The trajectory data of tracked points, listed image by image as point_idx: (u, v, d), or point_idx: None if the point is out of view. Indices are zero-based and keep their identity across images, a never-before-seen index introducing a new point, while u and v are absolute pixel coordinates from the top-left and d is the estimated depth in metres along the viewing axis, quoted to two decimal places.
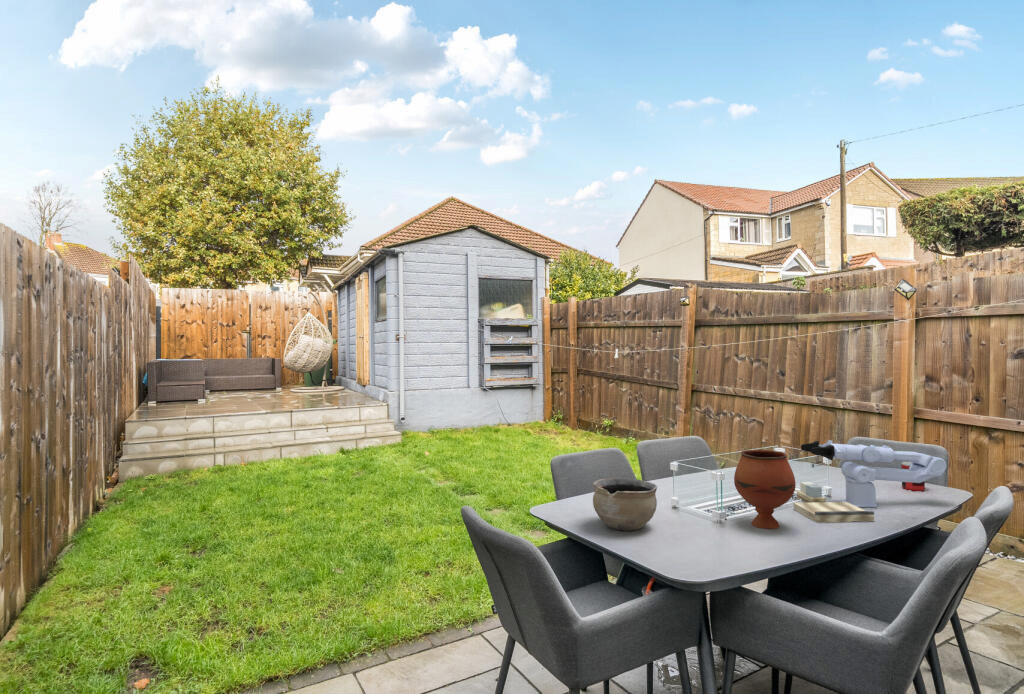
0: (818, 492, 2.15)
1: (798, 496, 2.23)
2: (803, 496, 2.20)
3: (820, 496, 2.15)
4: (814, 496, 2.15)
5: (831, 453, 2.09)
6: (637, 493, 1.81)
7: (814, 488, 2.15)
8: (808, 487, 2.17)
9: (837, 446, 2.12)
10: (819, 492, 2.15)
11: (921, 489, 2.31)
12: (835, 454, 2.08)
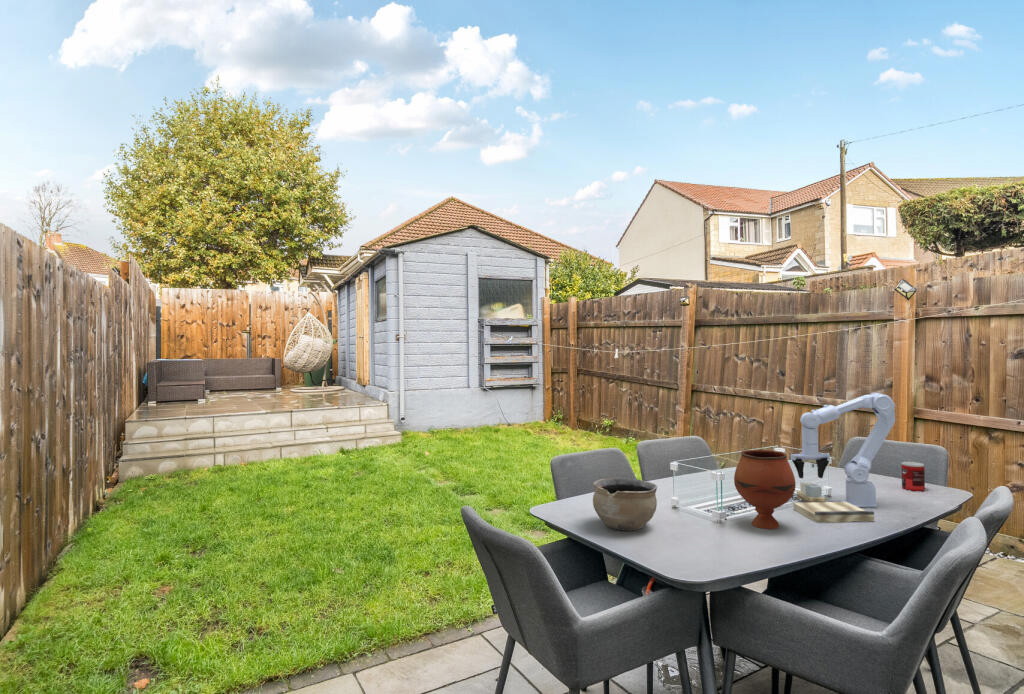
0: (818, 492, 2.15)
1: (798, 495, 2.23)
2: (803, 496, 2.20)
3: (820, 495, 2.15)
4: (814, 496, 2.15)
5: (796, 461, 2.19)
6: (637, 493, 1.81)
7: (814, 488, 2.15)
8: (808, 487, 2.17)
9: None
10: (819, 492, 2.15)
11: (921, 489, 2.31)
12: (793, 459, 2.19)
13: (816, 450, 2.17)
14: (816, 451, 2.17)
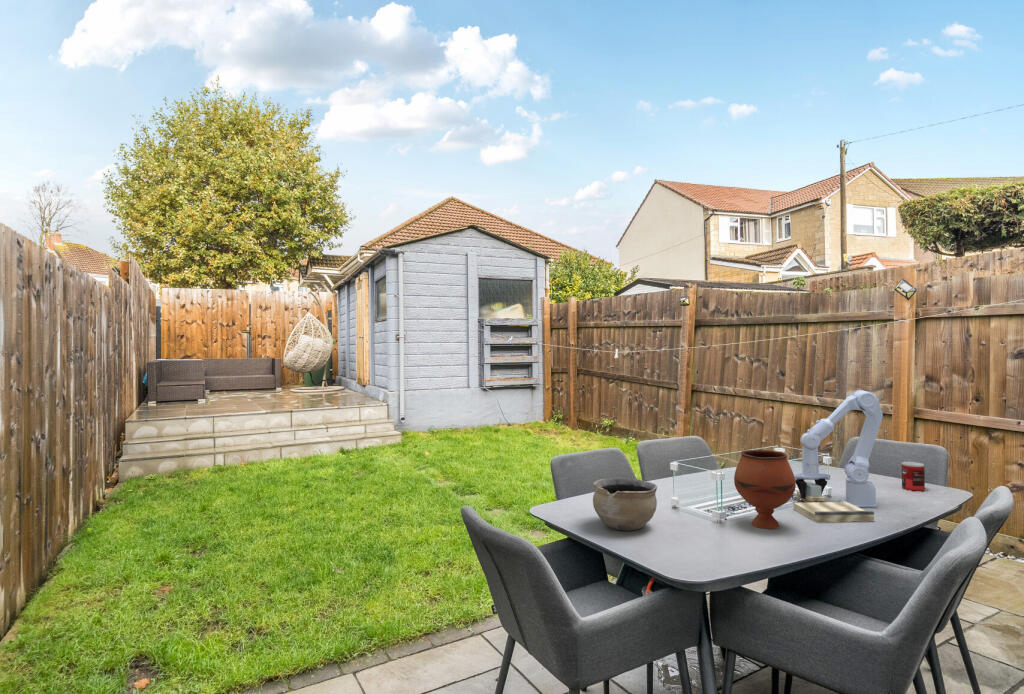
0: (818, 491, 2.15)
1: (798, 495, 2.23)
2: None
3: (820, 495, 2.15)
4: (814, 495, 2.15)
5: None
6: (637, 493, 1.81)
7: (814, 487, 2.15)
8: (808, 486, 2.17)
9: None
10: (818, 491, 2.15)
11: (921, 489, 2.31)
12: None
13: (816, 470, 2.17)
14: (817, 471, 2.17)
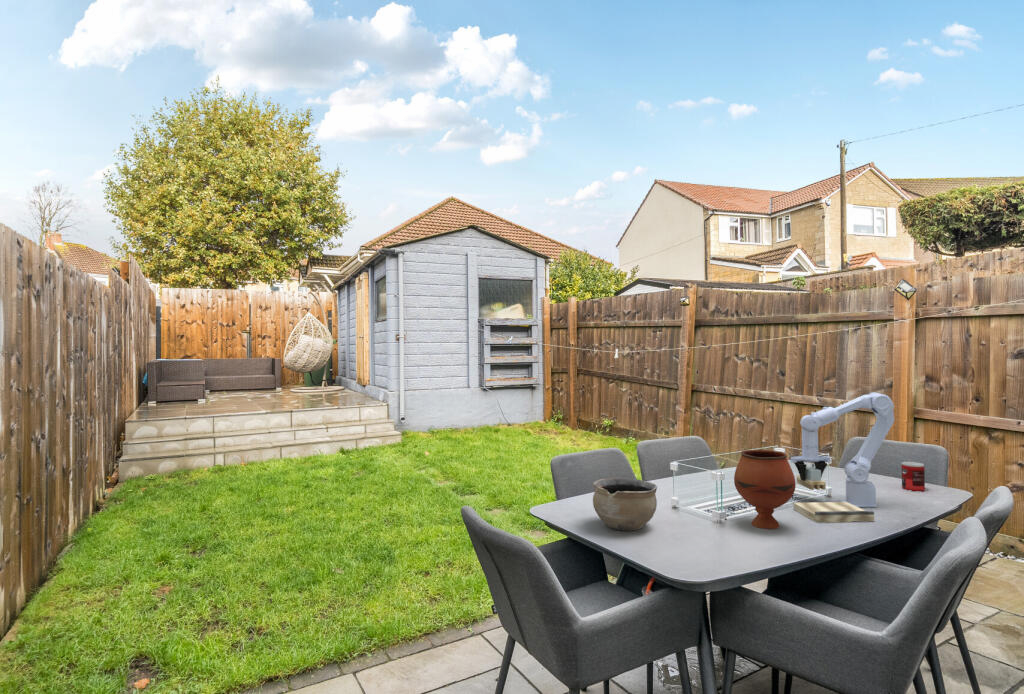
0: (818, 475, 2.15)
1: (798, 480, 2.23)
2: None
3: (819, 479, 2.15)
4: (813, 479, 2.15)
5: None
6: (637, 493, 1.81)
7: (813, 471, 2.15)
8: (807, 470, 2.17)
9: None
10: (818, 475, 2.15)
11: (921, 489, 2.31)
12: None
13: (816, 453, 2.17)
14: (816, 454, 2.17)
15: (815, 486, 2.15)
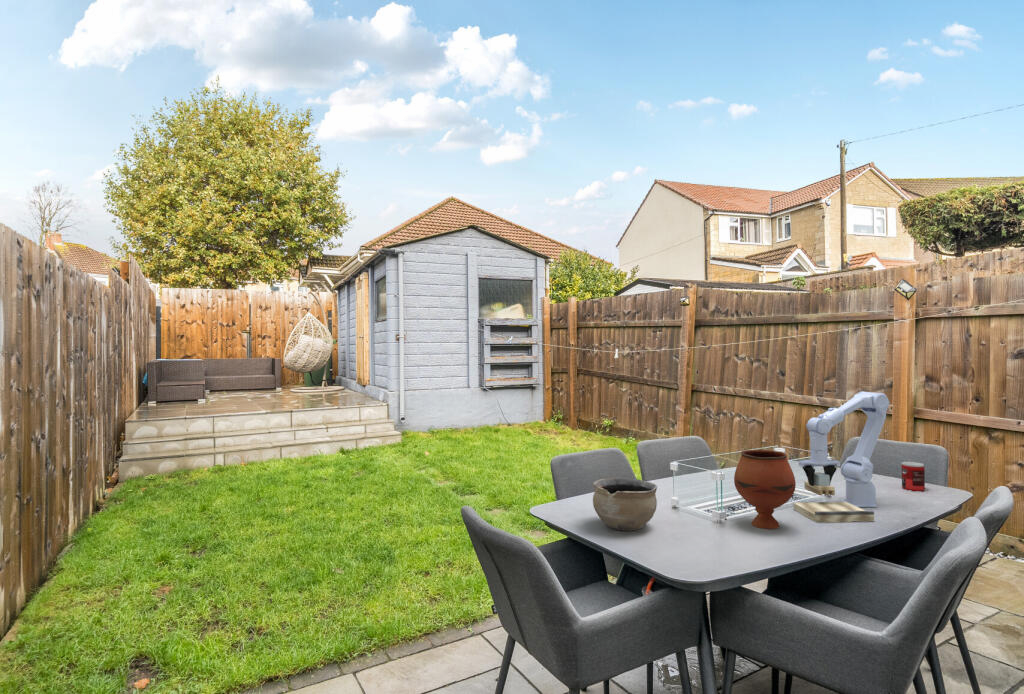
0: (826, 481, 2.08)
1: (806, 485, 2.16)
2: None
3: (828, 484, 2.08)
4: (822, 485, 2.08)
5: (806, 468, 2.11)
6: (637, 493, 1.81)
7: (822, 476, 2.08)
8: (815, 475, 2.10)
9: None
10: (827, 480, 2.08)
11: (921, 489, 2.31)
12: None
13: (825, 457, 2.09)
14: (825, 458, 2.09)
15: (824, 492, 2.07)
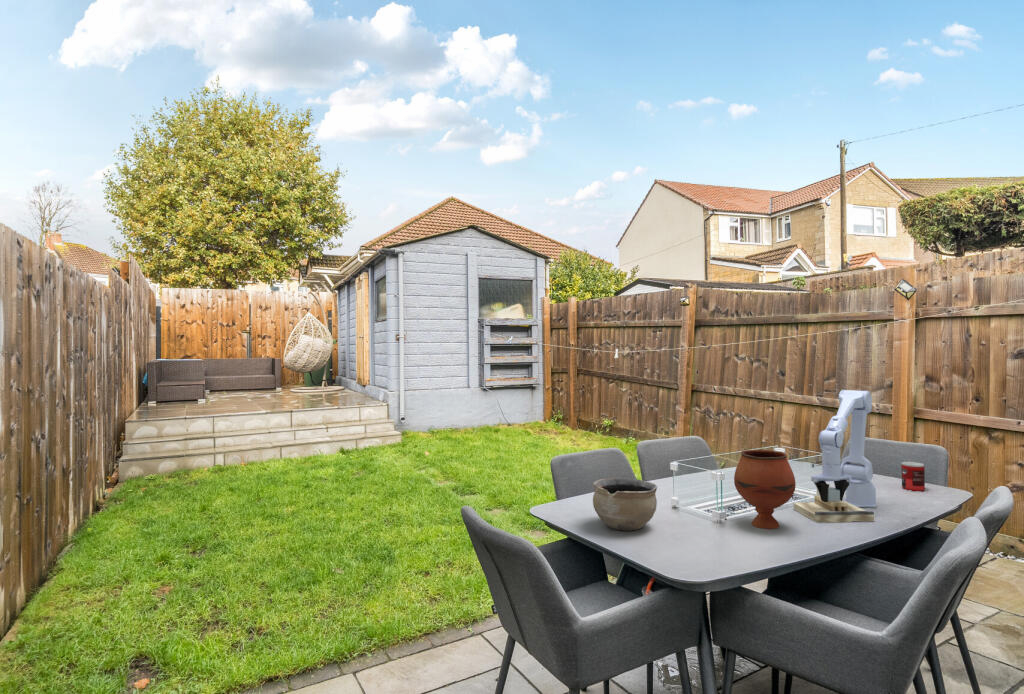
0: (836, 496, 1.99)
1: (816, 500, 2.07)
2: None
3: (838, 499, 1.99)
4: (831, 500, 1.99)
5: (819, 484, 2.00)
6: (637, 493, 1.81)
7: (831, 491, 1.99)
8: None
9: None
10: (837, 495, 1.99)
11: (921, 489, 2.31)
12: (815, 481, 2.00)
13: (839, 471, 1.99)
14: (839, 472, 1.99)
15: (836, 508, 1.98)
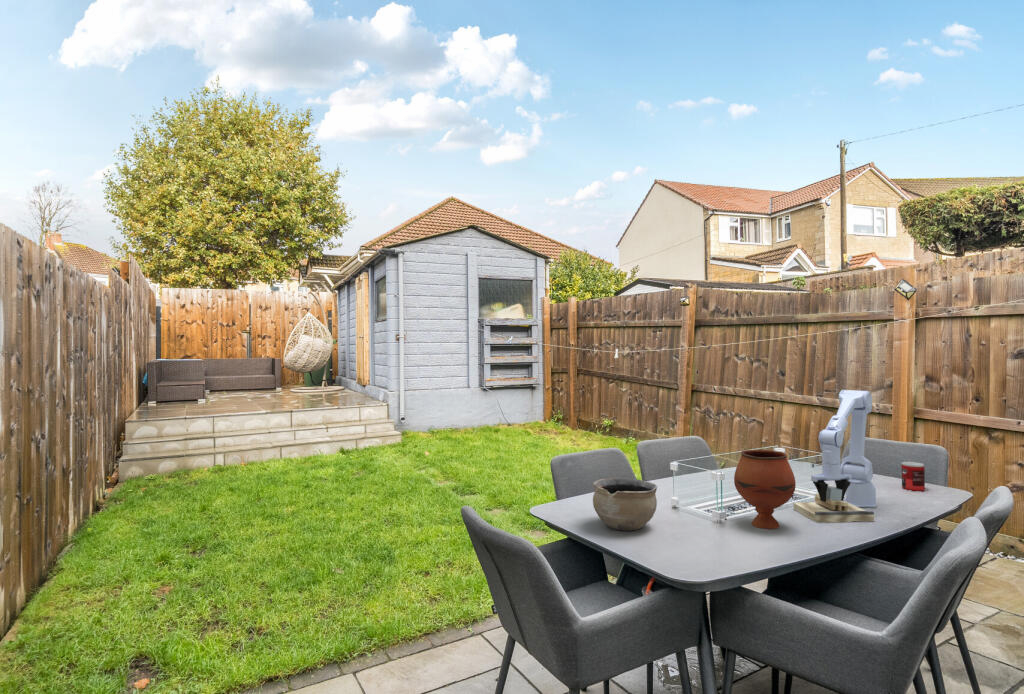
0: (838, 495, 1.99)
1: (817, 498, 2.07)
2: None
3: (839, 499, 1.99)
4: (833, 498, 1.99)
5: None
6: (637, 493, 1.81)
7: (834, 490, 1.99)
8: (827, 488, 2.02)
9: None
10: (839, 495, 1.99)
11: (921, 489, 2.31)
12: None
13: (839, 470, 1.99)
14: (839, 471, 1.99)
15: (836, 506, 1.98)
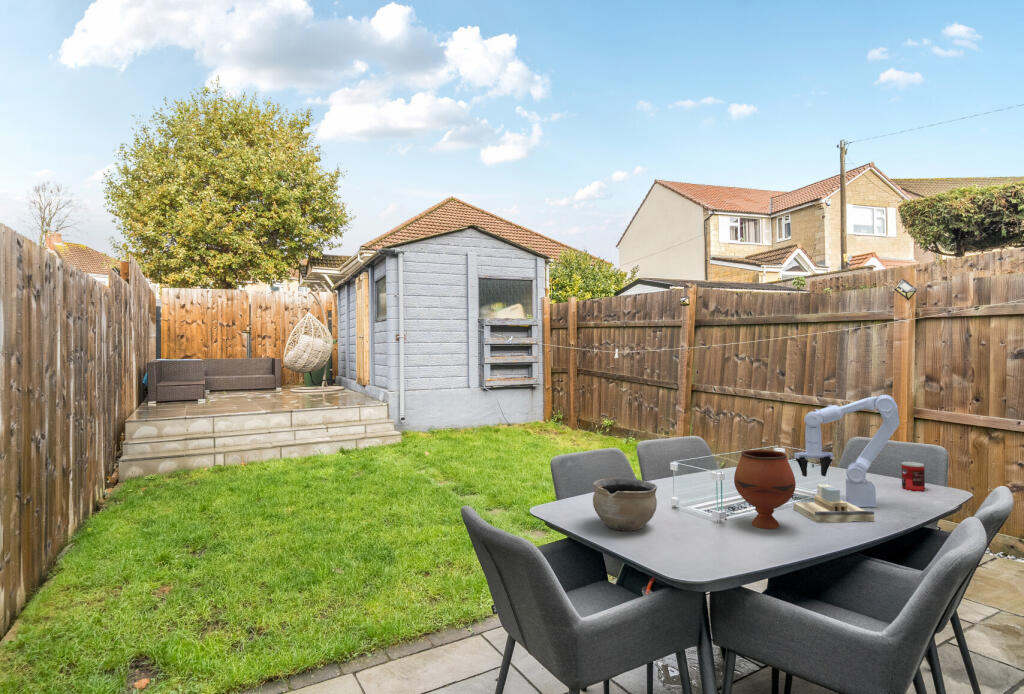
0: (836, 496, 1.99)
1: (816, 500, 2.07)
2: (822, 500, 2.03)
3: (838, 499, 1.99)
4: (832, 500, 1.99)
5: (800, 460, 2.22)
6: (637, 493, 1.81)
7: (832, 491, 1.99)
8: (825, 490, 2.02)
9: None
10: (837, 495, 1.99)
11: (921, 489, 2.31)
12: (797, 458, 2.22)
13: (819, 449, 2.20)
14: (820, 449, 2.20)
15: (836, 508, 1.98)
